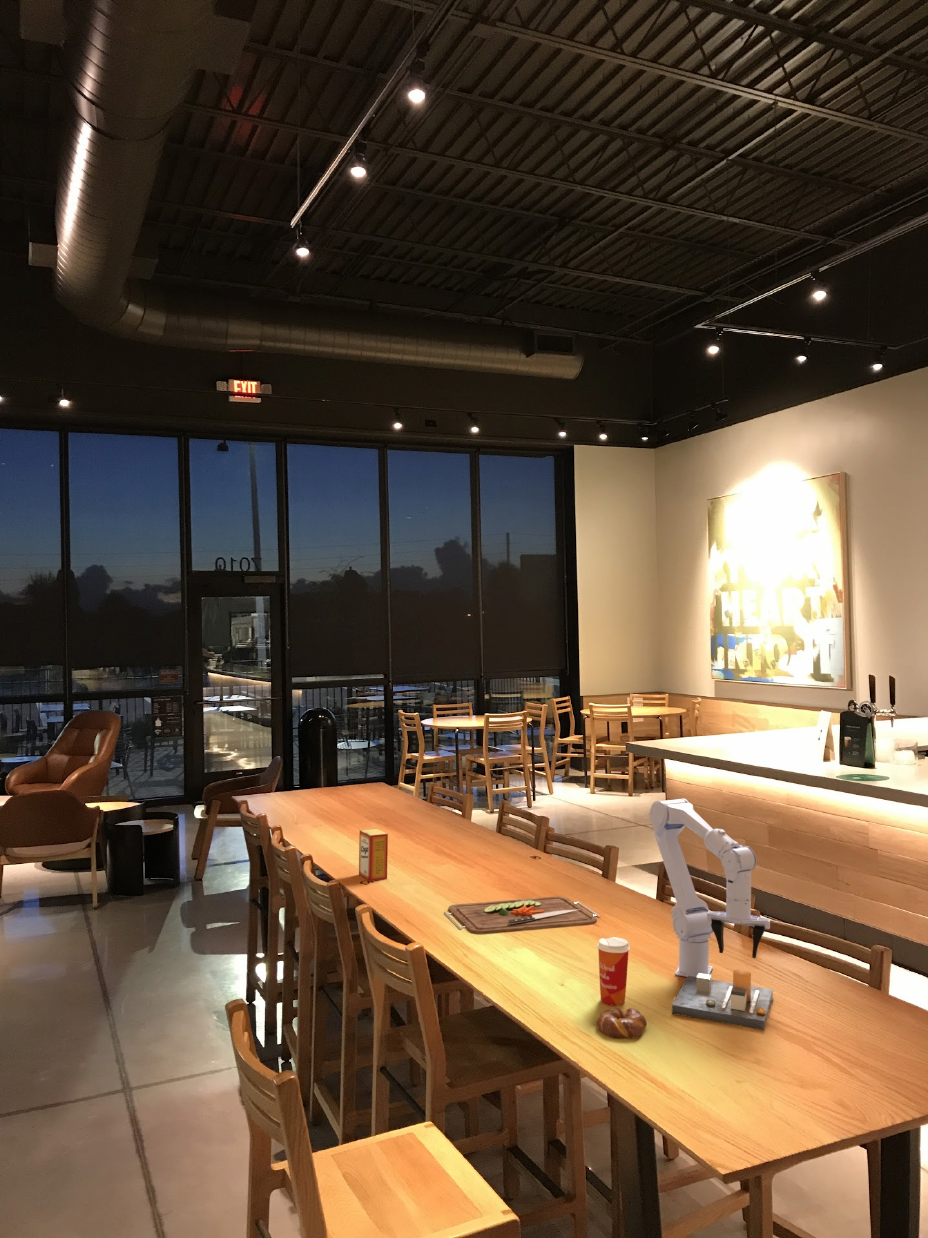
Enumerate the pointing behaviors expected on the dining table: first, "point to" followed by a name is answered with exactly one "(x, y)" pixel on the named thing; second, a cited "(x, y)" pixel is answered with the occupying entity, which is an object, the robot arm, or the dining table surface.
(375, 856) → the baking soda box
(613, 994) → the paper cup
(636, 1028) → the pretzel
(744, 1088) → the dining table surface
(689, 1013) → the panel
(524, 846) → the dining table surface
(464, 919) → the chopping board
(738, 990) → the lever
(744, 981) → the cap
